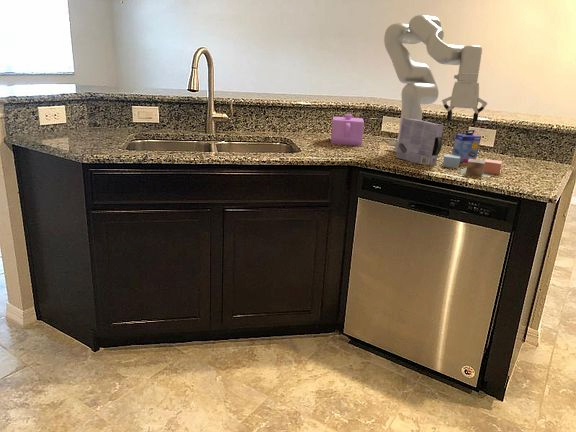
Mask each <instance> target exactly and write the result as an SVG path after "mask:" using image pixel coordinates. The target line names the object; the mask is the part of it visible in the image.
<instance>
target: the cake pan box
mask: <svg viewBox="0 0 576 432" xmlns="http://www.w3.org/2000/svg"><path fill="white" fill-rule="evenodd" d="M444 127H445V125H444V124H439V123H434V122H429V121H425V120H422V121H421V120H416V119H411V118H403V120H402V126H401V132H400V137H399V143H398V149H397V153H396V155H395V157H396V159H400V160H403V161H407V162H411V163H413V164H417V163H418V164H417V165H421V164H422V165H421V166H424V165H427V166H433V165H437V161H438V155H439V154H440V152H441V150H442V146H443V138H442V136H443V132H444V131H443V130H444Z"/></svg>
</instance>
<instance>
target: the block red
mask: <svg viewBox="0 0 576 432" xmlns="http://www.w3.org/2000/svg"><path fill="white" fill-rule="evenodd" d="M484 161H485V165H484V170H483V173H488V174H489V173H490V174H497V175H500V173H501V169H502V168H501V167H502V163H503V161H502V160H497V159H487V158H486V159H485V160H484Z"/></svg>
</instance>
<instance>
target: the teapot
mask: <svg viewBox="0 0 576 432" xmlns="http://www.w3.org/2000/svg"><path fill="white" fill-rule="evenodd" d="M364 126H365V121H364V118H361V117H353V115H352V114H351V113H350V114H349V113H348V114H347V113H345V114H344V116H332V125H331V134H330V135H331V136H330V144H331V145H342V146H343V145H345V146H346V145H347V146H357V147H358V146H361V147H362V144H363V135H364Z"/></svg>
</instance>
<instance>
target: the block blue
mask: <svg viewBox="0 0 576 432" xmlns="http://www.w3.org/2000/svg"><path fill="white" fill-rule="evenodd" d="M460 158H461V156H458V155H452V154H449V153H445V155H444V157H443V160H442V161H443V162H442V167H445V168H448V167H449V168H453V169H459V166H460V163H461V162H460Z"/></svg>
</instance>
